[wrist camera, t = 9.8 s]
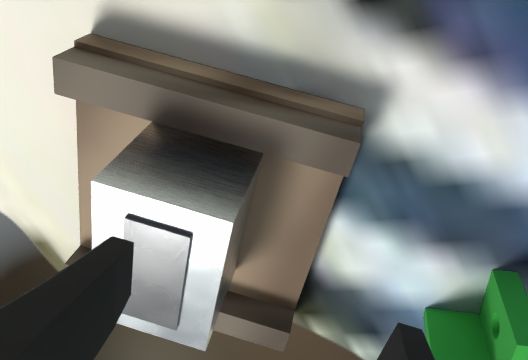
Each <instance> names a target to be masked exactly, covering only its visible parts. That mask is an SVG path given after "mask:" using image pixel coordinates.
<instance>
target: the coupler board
mask: <svg viewBox="0 0 528 360" xmlns="http://www.w3.org/2000/svg"><path fill="white" fill-rule="evenodd" d="M52 58H53V75H54V92H55V94H58V95H61V96H65V97H68V98H72V99H75V100H76V114H77V147H78V180H79V212H80V247H79V248H78V249H77V250H76V251H75V252H74V254H73V255H72V256H71V257H70V258H69V259H68V261H67V262H66V263H65V268H66V267H67V266H69V265H70V264H72V263H73V262H75V261H76V260H78V259H79V258H81V257H82V256H84V255H85V254H86V253H88V252H89V251H91V250H92V201H91V181H92V180H93V179H94V178H95V177H96V176H97V175H98V174H99V173H100V172H101V171H102V170H103V169H104V168H105V167H106V166H107V165H108V164H109V163H110V162H111V161H112V160H113V159H114V158H115V157H116V156H117V155H118V154H119V153H120V152H121V151H122V150H123V149H124V148H125V147H126V146H127V145H129V144H130V143H131V142H132V141H133V140H134V139H135V138H136V137H137V136H138V135H139V134H140V133H141V132H142V131H143V130H144V129H145V128H146V127H147V126H148V125H149V124H150V123H151V122H156V123H159V124H163V125H166V126H170V127H173V128H177V129H180V130H184V131H187V132H191V133H194V134H198V135H201V136H205V137H208V138H212V139H215V140H219V141H222V142H226V143H229V144H233V145H236V146H240V147H243V148H246V149H250V150H253V151H257V152H260V153H263V158H262V162H261V166H260V170H259V174H258V178H257V183H256V187H255V191H254V195H253V199H252V203H251V208H250V212H249V216H248V220H247V224H246V228H245V233H244V237H243V241H242V245H241V249H240V253H239V258H238V262H237V266H236V270H235V273H234V275H233V278H232V281H231V283H230V286H229V289H228V291H227V294H226V297H225V299H224V302H223V305H222V307H221V310H220V313H219V316H218V318H217V321H216V324H215V326H214V329H213V330H214V331H218V332H221V333H224V334H227V335H230V336H234V337H237V338H240V339H243V340H246V341H250V342H253V343H256V344H259V345H262V346H266V347H269V348H272V349H276V350H279V351H282V352H283V351H284V348H285V346H286V343H287V340H288V337H289V335H290V331H291V325H292V320H293V315H294V310H295V308H296V305H297V302H298V299H299V297H300V294H301V291H302V288H303V286H304V283H305V280H306V277H307V275H308V272H309V269H310V266H311V264H312V261H313V258H314V256H315V253H316V250H317V247H318V245H319V242H320V239H321V236H322V234H323V231H324V228H325V225H326V223H327V220H328V217H329V214H330V212H331V209H332V206H333V204H334V201H335V198H336V195H337V193H338V190H339V187H340V184H341V182H342V179H343V176H345V177H349V174H350V172H351V169H352V166H353V164H354V161H355V158H356V156H357V153H358V150H359V147H360V145H361V129H362V124H363V121H364V109H361V108H358V107H354V106H350V105H347V104H343V103H339V102H336V101H332V100H329V99H325V98H321V97H318V96H314V95H310V94H307V93H303V92H300V91H296V90H292V89H289V88H285V87H281V86H278V85H274V84H271V83H267V82H263V81H260V80H256V79H252V78H249V77H245V76H242V75H238V74H234V73H231V72H227V71H223V70H220V69H216V68H213V67H209V66H205V65H202V64H198V63H195V62H191V61H187V60H184V59H180V58H176V57H173V56H169V55H166V54H162V53H158V52H155V51H151V50H147V49H144V48H140V47H137V46H133V45H129V44H126V43H122V42H118V41H115V40H111V39H108V38H104V37H100V36H97V35H93V34H88V35H86V36H84V37H81V38H79V39H77V40H75V41H74V47H73V48H71V49H69V50H66V51H64V52H62V53H60V54H58V55H56V56H54V57H52Z"/></svg>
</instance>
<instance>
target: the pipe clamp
mask: <svg viewBox="0 0 528 360" xmlns="http://www.w3.org/2000/svg"><path fill="white" fill-rule="evenodd" d="M423 318H424V326H425V334H426V340H427V342H428V344H429V347H430V349H431V351H432V354H433V356H434V358H435V360H528V296H527V294H526V291H525V289H524V286H523V284H522V281H521V279H520V276H519V274H518V272H510V271H500V270H492V272H491V276H490V279H489V282H488V286H487V289H486V293H485V296H484V299H483V303H482V306H481V310H480V313H479V314H476V313H467V312H459V311H450V310H442V309H433V308H425V312H424V317H423Z"/></svg>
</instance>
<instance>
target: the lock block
mask: <svg viewBox="0 0 528 360" xmlns="http://www.w3.org/2000/svg"><path fill="white" fill-rule="evenodd" d="M262 158H263V153H260V152H257V151H253V150H250V149H246V148H243V147H240V146H236V145H233V144H229V143H226V142H222V141H219V140H215V139H212V138H208V137H205V136H201V135H198V134H194V133H191V132H187V131H184V130H180V129H177V128H173V127H170V126H166V125H163V124H159V123H156V122H151V123H150V124H149V125H148V126H147V127H146V128H145V129H144V130H143V131H142V132H141V133H140V134H139V135H138V136H137V137H136V138H135V139H134V140H133V141H132V142H131V143H130V144H129V145H127V146H126V147H125V148H124V149H123V150H122V151H121V152H120V153H119V154H118V155H117V156H116V157H115V158H114V159H113V160H112V161H111V162H110V163H109V164H108V165H107V166H106V167H105V168H104V169H103V170H102V171H101V172H100V173H99V174H98V175H97V176H96V177H95V178H94V179H93V180H92V181H91V201H92V249H94V248H95V247H96V246H98V245H99V244H101V243H102V242H103V241H105V240H106V239H108V238H109V237H111V236H115V237H118V238H122V239H125V240H128V241H131V242H134V253H133V270H132V287H131V296H130V298H129V300H128V302H127V304H126V306H125V308H124V310H123V312H122V314H121V316H120V318H119V319H118V321H117V323H118V324H121V325H124V326H127V327H130V328H134V329H137V330H140V331H143V332H146V333H149V334H152V335H155V336H159V337H162V338H165V339H168V340H171V341H174V342H178V343H181V344H184V345H187V346H191V347H194V348H197V349H200V350H203V351H205V350H206V348H207V345H208V342H209V340H210V337H211V334H212V332H213V329H214V326H215V324H216V321H217V318H218V316H219V313H220V310H221V307H222V305H223V302H224V299H225V297H226V294H227V291H228V289H229V286H230V283H231V281H232V278H233V275H234V273H235V270H236V266H237V262H238V258H239V253H240V249H241V245H242V241H243V237H244V233H245V228H246V224H247V220H248V216H249V212H250V208H251V203H252V199H253V195H254V191H255V187H256V183H257V178H258V174H259V170H260V166H261V162H262Z"/></svg>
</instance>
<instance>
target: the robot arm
mask: <svg viewBox="0 0 528 360" xmlns="http://www.w3.org/2000/svg"><path fill="white" fill-rule="evenodd" d="M133 253H134V242H131V241H128V240H125V239H122V238H118V237H115V236H111V237H109V238H108V239H106V240H105V241H103V242H102V243H101V244H99V245H98V246H96V247H95V248H94V249H92V250H91V251H89V252H88V253H86V254H85V255H84V256H82V257H81V258H79V259H78V260H76V261H75V262H73V263H72V264H70V265H69V266H67V267H66V268H64V269H63V270H61V271H60V272H58V273H57V274H55V275H54V276H52V277H51V278H49V279H48V280H46V281H45V282H43V283H41V284H40V285H38V286H37V287H35V288H33V289H32V290H30V291H28V292H26V293H25V294H23V295H21V296H20V297H18V298H16V299H15V300H13V301H11V302H10V303H8V304H6V305H4V306H3V307H1V308H0V360H93V359H94V358H95V356H96V355H97V353H98V352H99V350H100V349H101V347H102V346H103V344H104V343H105V341H106V340H107V338H108V337H109V335H110V333H111V332H112V330H113V329H114V327H115V325H116V323H117V321H118V319H119V318H120V316H121V314H122V312H123V310H124V308H125V306H126V304H127V302H128V300H129V298H130V296H131V287H132V270H133ZM377 360H435V358H434V356H433V354H432V351H431V349H430V347H429V344H428V342H427V340H426V338H425V335H424V333H423V331H422V330H421V329H418V328H415V327H411V326H408V325H405V324H401V323H398V324H397V326H396V327H395V329H394V331H393V333H392V334H391V336H390V338H389V340H388V341H387V343H386V345H385V347H384V348H383V350H382V352H381V354H380V355H379V357H378V359H377Z"/></svg>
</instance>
